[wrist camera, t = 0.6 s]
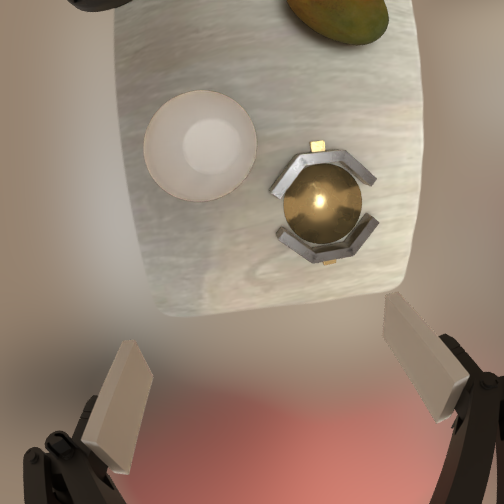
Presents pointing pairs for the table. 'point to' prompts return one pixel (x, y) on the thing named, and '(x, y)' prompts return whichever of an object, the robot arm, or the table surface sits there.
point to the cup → (200, 146)
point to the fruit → (344, 18)
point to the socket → (324, 204)
